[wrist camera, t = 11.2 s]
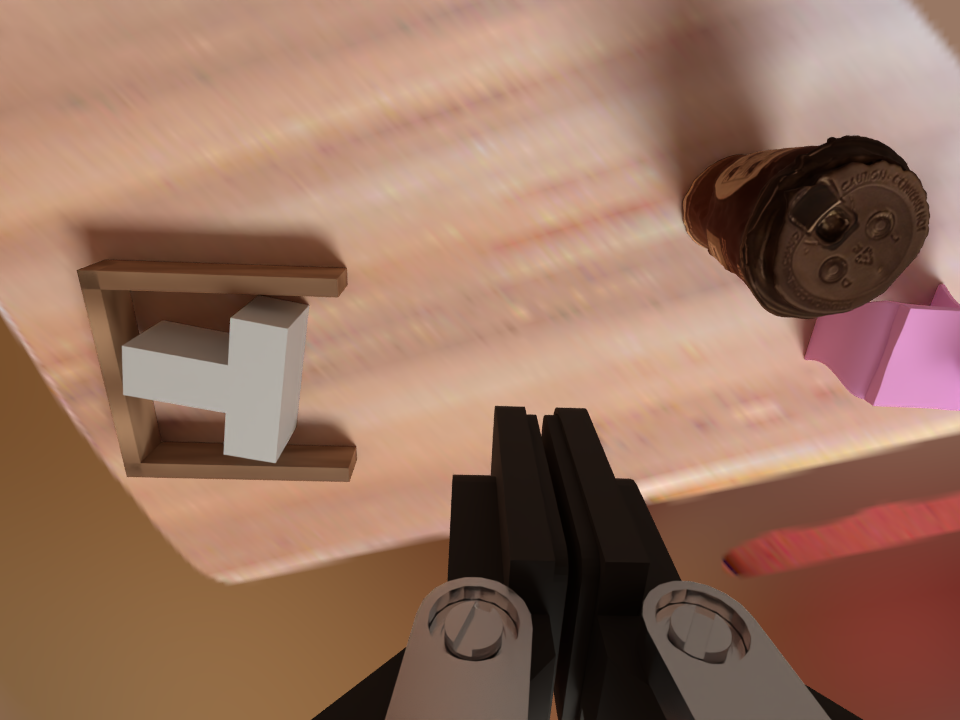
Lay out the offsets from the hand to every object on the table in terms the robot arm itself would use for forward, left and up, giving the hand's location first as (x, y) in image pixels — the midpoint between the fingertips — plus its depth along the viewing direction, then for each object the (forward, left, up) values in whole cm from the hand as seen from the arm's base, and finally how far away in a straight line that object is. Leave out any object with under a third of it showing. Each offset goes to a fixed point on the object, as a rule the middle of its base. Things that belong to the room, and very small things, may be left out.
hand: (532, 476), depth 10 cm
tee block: (+10, -18, -29) cm, 36 cm away
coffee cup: (-2, +16, -29) cm, 33 cm away
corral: (+11, -17, -29) cm, 35 cm away
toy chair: (+6, +28, -29) cm, 41 cm away
